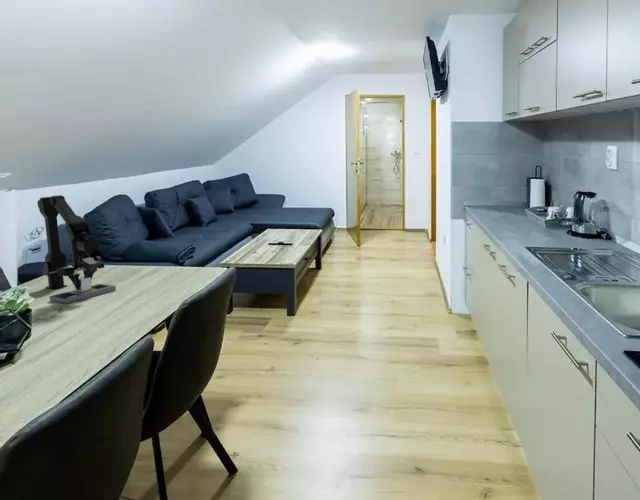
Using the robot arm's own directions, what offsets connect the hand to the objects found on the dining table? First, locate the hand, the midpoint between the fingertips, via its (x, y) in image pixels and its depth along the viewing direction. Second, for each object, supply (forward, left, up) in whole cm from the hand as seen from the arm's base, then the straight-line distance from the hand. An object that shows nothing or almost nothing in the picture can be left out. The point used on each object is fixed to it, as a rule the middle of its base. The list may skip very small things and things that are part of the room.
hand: (83, 288), depth 240 cm
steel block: (0, 0, -2) cm, 2 cm away
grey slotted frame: (0, 0, -3) cm, 3 cm away
